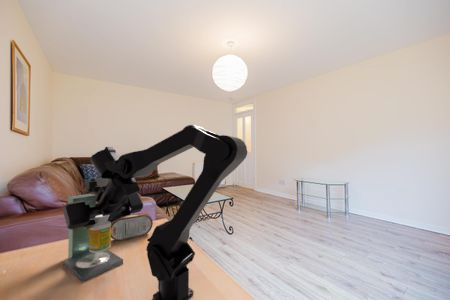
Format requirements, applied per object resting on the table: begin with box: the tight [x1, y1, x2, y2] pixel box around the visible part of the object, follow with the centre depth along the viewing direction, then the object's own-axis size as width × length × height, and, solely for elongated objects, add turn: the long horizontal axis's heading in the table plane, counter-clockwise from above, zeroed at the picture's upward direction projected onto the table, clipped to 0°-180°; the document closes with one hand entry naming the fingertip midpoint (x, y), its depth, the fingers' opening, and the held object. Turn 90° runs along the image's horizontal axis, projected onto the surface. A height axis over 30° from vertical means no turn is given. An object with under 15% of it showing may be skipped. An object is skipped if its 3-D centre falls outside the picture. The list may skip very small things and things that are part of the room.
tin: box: [111, 212, 154, 241], centre depth 74 cm, size 15×3×8 cm, turn 124°
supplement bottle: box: [89, 215, 112, 253], centre depth 58 cm, size 5×5×10 cm
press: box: [63, 193, 124, 283], centre depth 59 cm, size 24×10×18 cm, turn 55°
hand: (98, 224), depth 58 cm, fingers closed on supplement bottle, 5 cm apart
